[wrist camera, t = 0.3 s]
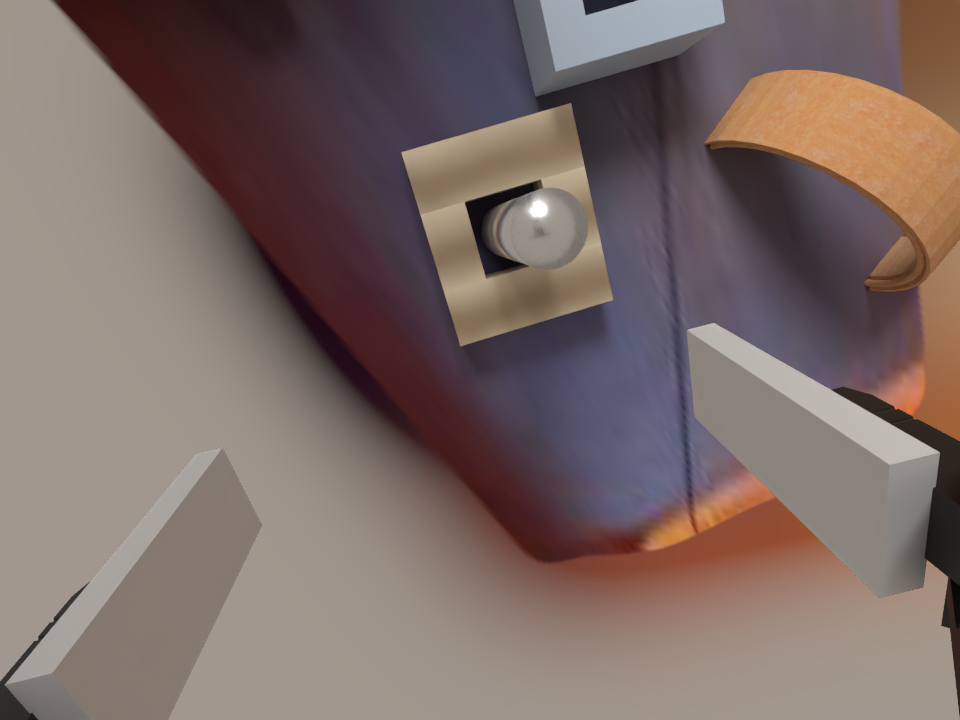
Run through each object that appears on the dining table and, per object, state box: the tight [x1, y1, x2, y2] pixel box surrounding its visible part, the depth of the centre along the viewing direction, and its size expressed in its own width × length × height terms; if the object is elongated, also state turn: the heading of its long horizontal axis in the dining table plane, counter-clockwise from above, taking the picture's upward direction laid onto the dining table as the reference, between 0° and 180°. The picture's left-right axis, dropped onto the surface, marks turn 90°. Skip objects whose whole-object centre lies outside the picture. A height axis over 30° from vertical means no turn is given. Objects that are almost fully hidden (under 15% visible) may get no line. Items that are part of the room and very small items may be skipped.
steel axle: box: [481, 188, 588, 270], centre depth 32 cm, size 4×4×14 cm
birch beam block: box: [401, 103, 613, 346], centre depth 37 cm, size 14×12×3 cm
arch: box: [704, 70, 960, 292], centre depth 36 cm, size 6×20×10 cm, turn 55°
